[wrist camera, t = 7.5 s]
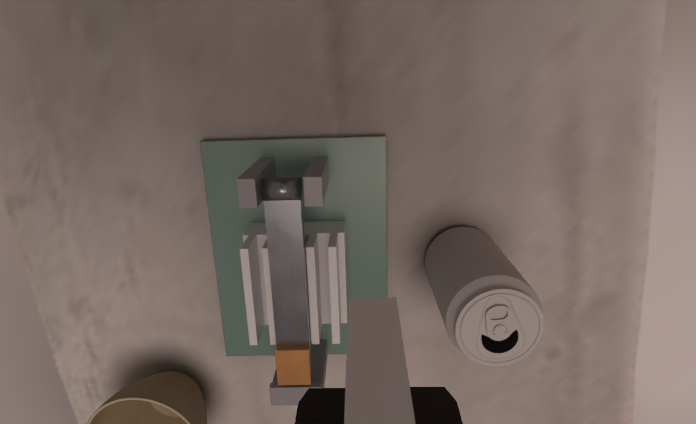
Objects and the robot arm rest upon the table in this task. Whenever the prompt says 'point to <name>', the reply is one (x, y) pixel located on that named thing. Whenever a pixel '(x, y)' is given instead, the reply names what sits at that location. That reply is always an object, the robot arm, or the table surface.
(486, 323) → the beverage can
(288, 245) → the grey long bar
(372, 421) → the robot arm
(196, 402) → the flower pot
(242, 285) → the board
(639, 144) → the table surface
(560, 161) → the table surface
